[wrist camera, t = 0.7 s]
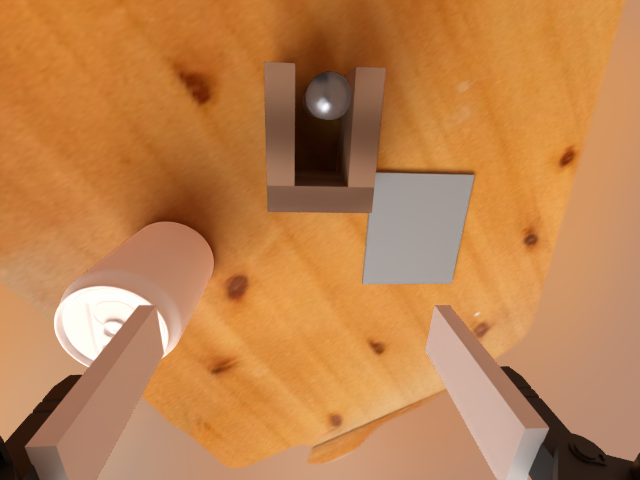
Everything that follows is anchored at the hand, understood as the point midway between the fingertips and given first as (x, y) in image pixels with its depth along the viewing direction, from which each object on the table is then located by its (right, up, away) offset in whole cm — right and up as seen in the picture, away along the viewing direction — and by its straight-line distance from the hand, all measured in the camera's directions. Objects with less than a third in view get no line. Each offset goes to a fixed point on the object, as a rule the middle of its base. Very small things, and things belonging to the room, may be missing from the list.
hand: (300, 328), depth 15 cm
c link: (+1, +14, +14) cm, 19 cm away
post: (+1, +16, +13) cm, 21 cm away
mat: (+11, +5, +18) cm, 22 cm away
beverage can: (-14, +3, +17) cm, 22 cm away
